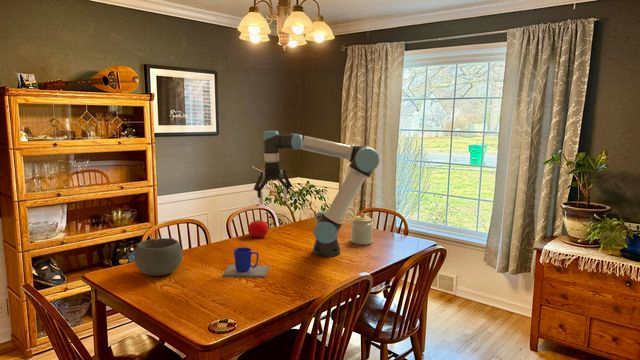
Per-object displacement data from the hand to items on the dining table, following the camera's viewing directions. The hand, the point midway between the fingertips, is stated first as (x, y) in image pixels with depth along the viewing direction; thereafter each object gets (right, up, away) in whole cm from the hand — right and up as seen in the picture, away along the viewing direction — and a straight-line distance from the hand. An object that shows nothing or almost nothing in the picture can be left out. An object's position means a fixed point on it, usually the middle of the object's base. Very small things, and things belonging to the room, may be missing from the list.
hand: (273, 202), depth 222 cm
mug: (-11, -32, -15) cm, 37 cm away
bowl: (-52, -33, -17) cm, 64 cm away
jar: (+49, -26, +38) cm, 67 cm away
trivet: (-11, -33, -14) cm, 37 cm away
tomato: (-14, -24, +46) cm, 54 cm away
